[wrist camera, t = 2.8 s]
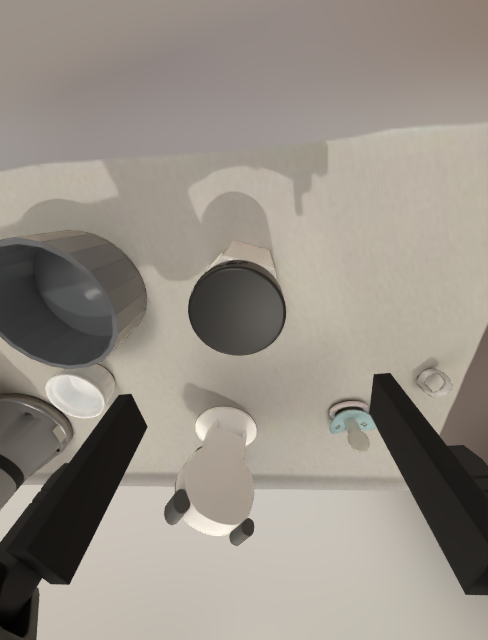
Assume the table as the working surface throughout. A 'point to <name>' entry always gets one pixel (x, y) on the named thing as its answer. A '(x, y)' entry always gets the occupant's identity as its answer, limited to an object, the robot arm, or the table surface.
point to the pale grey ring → (421, 380)
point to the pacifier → (352, 424)
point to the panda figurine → (217, 477)
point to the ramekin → (81, 391)
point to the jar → (238, 301)
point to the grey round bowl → (67, 297)
